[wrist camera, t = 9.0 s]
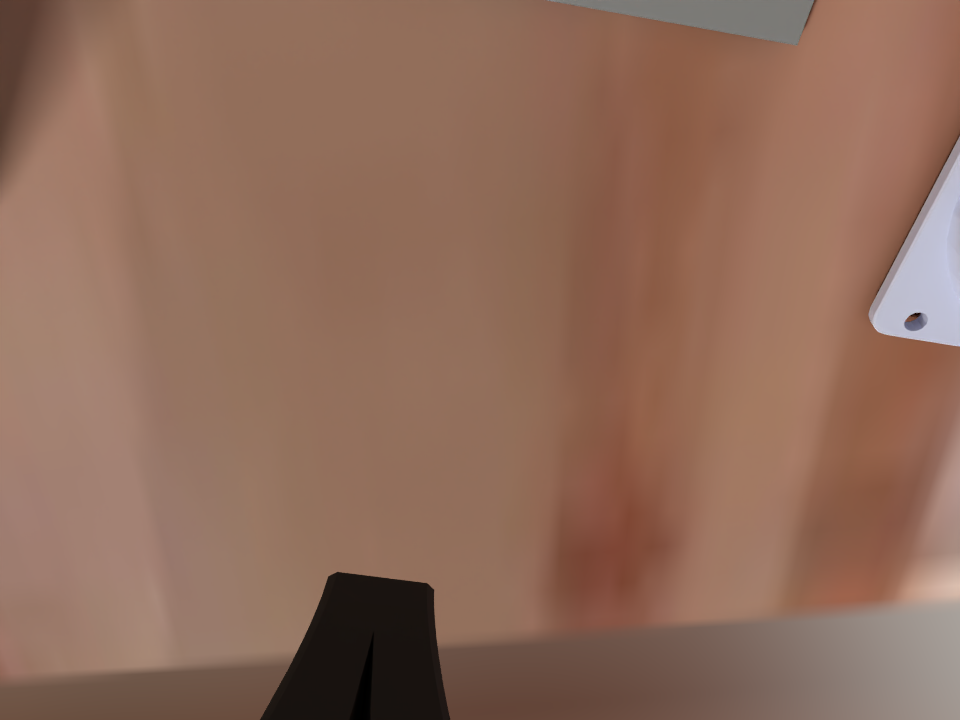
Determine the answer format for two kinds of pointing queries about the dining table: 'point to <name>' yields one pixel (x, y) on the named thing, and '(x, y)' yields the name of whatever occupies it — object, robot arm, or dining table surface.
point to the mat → (718, 15)
